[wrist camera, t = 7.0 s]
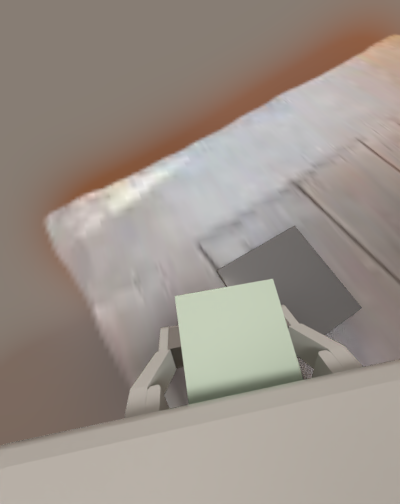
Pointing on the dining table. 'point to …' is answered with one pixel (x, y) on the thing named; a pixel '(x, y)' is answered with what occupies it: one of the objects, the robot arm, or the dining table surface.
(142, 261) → the dining table surface
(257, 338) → the block
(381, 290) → the dining table surface
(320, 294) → the board
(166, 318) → the dining table surface
